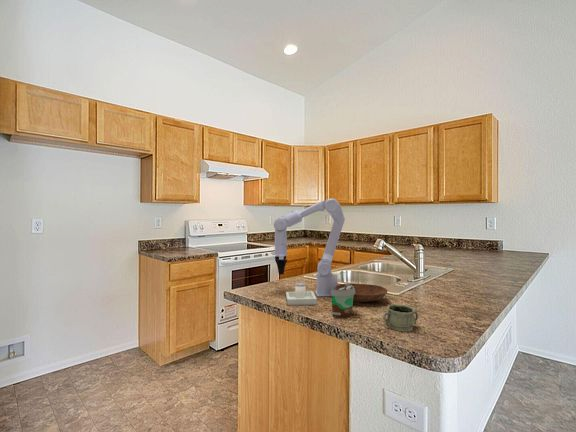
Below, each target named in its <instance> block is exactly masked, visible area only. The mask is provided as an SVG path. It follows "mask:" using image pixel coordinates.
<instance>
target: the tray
mask: <svg viewBox="0 0 576 432" xmlns="http://www.w3.org/2000/svg"><path fill="white" fill-rule="evenodd" d="M285 299H286V305H287V307H289V306H292V307H293V306H317V305H318V298H317V295H316V293H315V292H314V291H312V290H311V291H306V298H303V299H295V291H285Z"/></svg>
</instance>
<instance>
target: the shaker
mask: <svg viewBox="0 0 576 432" xmlns="http://www.w3.org/2000/svg"><path fill="white" fill-rule="evenodd" d="M306 287H307V286H306V282H300V281H299V282H295V283H294V292H295V299H303V298H306V289H307V288H306Z"/></svg>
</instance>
